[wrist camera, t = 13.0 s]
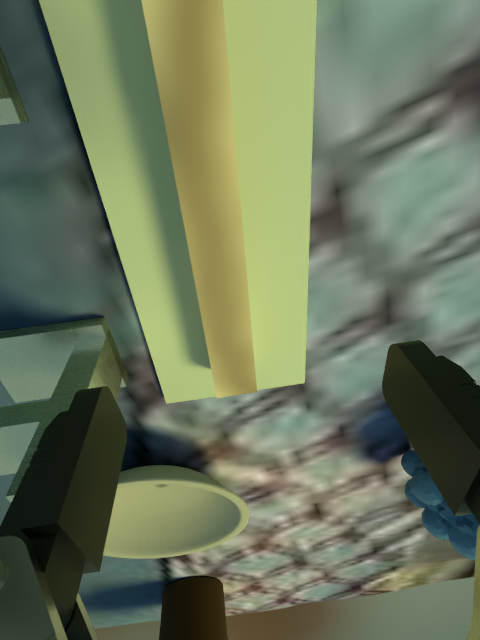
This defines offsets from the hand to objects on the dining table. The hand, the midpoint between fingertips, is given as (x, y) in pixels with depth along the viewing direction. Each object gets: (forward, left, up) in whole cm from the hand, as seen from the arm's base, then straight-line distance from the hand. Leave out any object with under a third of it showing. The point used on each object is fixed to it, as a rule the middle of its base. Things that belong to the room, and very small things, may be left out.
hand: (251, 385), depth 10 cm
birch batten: (0, -1, -13) cm, 13 cm away
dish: (+9, +25, -14) cm, 31 cm away
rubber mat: (0, -1, -14) cm, 14 cm away
